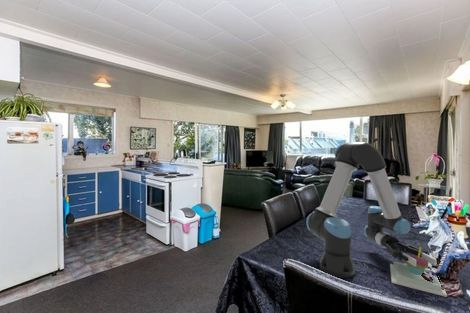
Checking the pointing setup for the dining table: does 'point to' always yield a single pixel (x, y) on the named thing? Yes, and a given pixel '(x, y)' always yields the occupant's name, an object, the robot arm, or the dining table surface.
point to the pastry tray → (414, 279)
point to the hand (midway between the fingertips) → (425, 262)
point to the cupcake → (417, 264)
